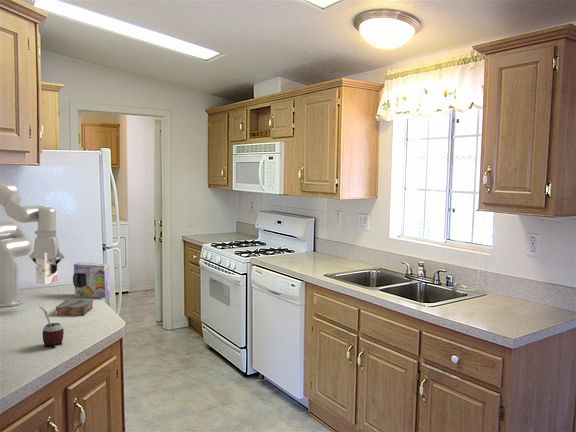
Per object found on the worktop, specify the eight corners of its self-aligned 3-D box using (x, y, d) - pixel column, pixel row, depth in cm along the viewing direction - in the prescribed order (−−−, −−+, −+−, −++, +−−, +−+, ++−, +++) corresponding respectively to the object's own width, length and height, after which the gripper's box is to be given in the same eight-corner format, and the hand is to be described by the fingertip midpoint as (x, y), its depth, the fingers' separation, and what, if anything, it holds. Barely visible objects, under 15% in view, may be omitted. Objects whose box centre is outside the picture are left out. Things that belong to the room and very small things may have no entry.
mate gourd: (64, 347, 176) (64, 307, 175) (41, 350, 172) (40, 310, 170) (62, 340, 182) (61, 302, 181) (39, 344, 178) (38, 305, 176)
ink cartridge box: (48, 279, 224) (48, 249, 222) (57, 280, 223) (57, 249, 221) (35, 283, 215) (35, 251, 214) (44, 284, 214) (45, 252, 213)
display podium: (55, 315, 212) (55, 307, 212) (66, 307, 225) (66, 299, 224) (84, 316, 213) (84, 307, 213) (93, 308, 226) (93, 300, 225)
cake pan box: (72, 296, 246) (72, 262, 244) (78, 293, 251) (78, 261, 249) (104, 299, 242) (104, 265, 240) (110, 297, 247) (110, 263, 245)
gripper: (23, 234, 212) (23, 273, 214) (63, 236, 214) (62, 275, 215) (31, 232, 220) (31, 270, 221) (69, 233, 221) (69, 271, 223)
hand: (46, 272), depth 218 cm, fingers closed on ink cartridge box, 5 cm apart
